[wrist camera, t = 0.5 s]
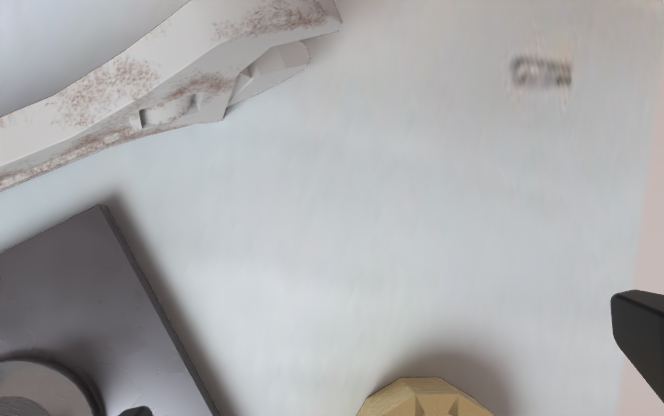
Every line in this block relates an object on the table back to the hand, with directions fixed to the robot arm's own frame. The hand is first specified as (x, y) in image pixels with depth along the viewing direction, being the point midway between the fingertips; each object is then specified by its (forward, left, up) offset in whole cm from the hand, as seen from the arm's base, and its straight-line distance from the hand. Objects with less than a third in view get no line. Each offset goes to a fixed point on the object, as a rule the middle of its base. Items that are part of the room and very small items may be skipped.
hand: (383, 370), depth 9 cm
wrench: (+11, +10, -13) cm, 20 cm away
